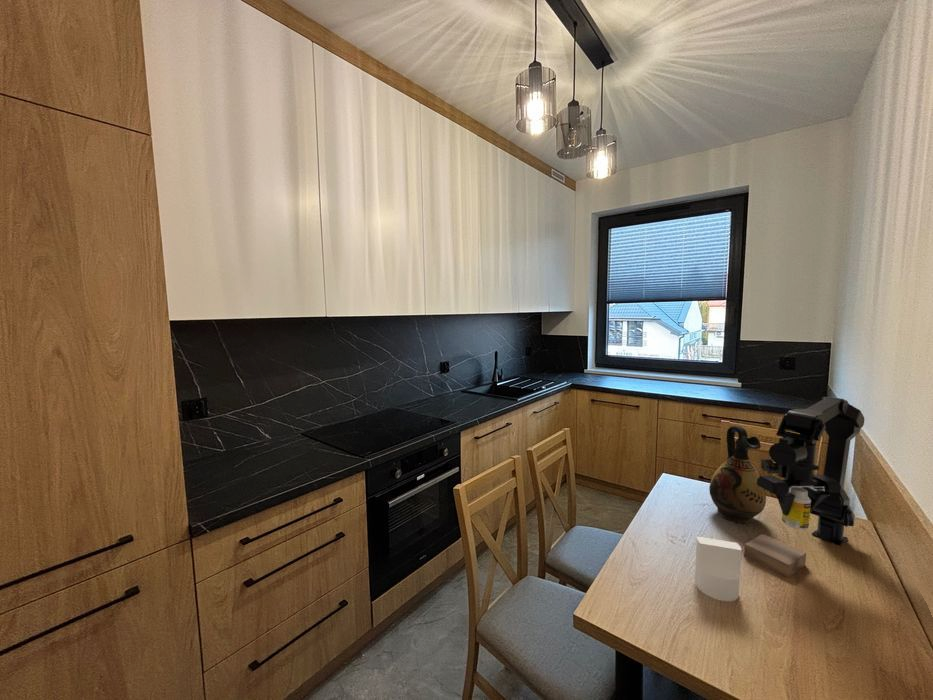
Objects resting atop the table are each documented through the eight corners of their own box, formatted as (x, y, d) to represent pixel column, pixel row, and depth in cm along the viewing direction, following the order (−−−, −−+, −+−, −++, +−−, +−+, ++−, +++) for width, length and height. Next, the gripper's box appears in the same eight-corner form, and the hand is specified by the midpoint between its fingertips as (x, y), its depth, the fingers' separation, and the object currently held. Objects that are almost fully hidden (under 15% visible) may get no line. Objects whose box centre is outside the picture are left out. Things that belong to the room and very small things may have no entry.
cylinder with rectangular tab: (731, 581, 95) (733, 536, 94) (744, 607, 87) (747, 558, 86) (690, 573, 98) (692, 529, 97) (699, 598, 90) (702, 550, 88)
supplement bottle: (804, 533, 98) (808, 495, 97) (778, 523, 103) (781, 487, 102) (811, 526, 101) (814, 490, 100) (785, 517, 106) (788, 482, 105)
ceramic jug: (777, 528, 118) (784, 435, 115) (727, 528, 118) (733, 436, 115) (739, 501, 135) (744, 420, 132) (695, 501, 135) (700, 420, 132)
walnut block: (761, 546, 110) (762, 533, 109) (805, 566, 101) (806, 552, 100) (743, 557, 105) (744, 544, 104) (787, 579, 96) (789, 565, 96)
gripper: (804, 447, 109) (800, 499, 110) (742, 448, 108) (739, 500, 109) (845, 462, 98) (840, 519, 99) (776, 463, 97) (772, 521, 98)
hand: (795, 514), depth 102 cm, fingers closed on supplement bottle, 5 cm apart
